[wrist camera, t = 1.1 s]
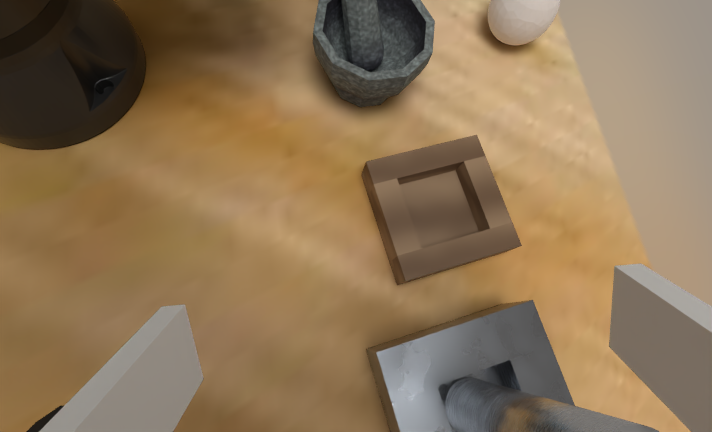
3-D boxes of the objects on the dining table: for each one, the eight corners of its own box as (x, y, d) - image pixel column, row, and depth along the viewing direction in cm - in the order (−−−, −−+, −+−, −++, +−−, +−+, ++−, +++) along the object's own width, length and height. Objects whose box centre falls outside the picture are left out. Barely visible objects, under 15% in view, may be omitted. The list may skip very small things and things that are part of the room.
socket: (365, 349, 32) (376, 352, 27) (501, 304, 34) (532, 299, 30) (415, 516, 29) (436, 552, 25) (558, 455, 32) (603, 478, 27)
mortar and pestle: (431, 100, 39) (484, 5, 27) (345, 140, 37) (363, 54, 25) (372, 10, 41) (399, -115, 29) (288, 43, 39) (280, -78, 27)
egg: (467, 16, 42) (500, -50, 35) (517, 4, 43) (560, -61, 36) (491, 65, 41) (531, 8, 34) (542, 52, 42) (592, -6, 35)
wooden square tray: (361, 175, 36) (366, 161, 33) (463, 149, 38) (476, 134, 35) (397, 285, 34) (405, 280, 31) (504, 252, 36) (521, 245, 33)
